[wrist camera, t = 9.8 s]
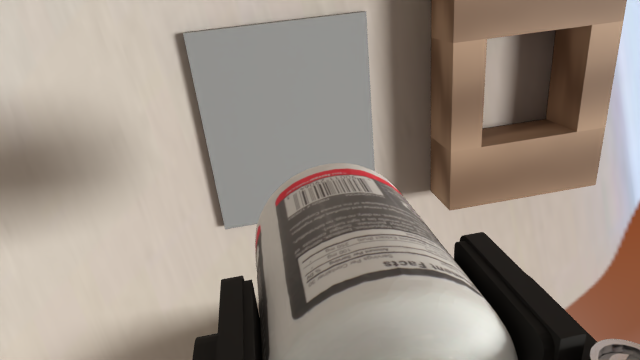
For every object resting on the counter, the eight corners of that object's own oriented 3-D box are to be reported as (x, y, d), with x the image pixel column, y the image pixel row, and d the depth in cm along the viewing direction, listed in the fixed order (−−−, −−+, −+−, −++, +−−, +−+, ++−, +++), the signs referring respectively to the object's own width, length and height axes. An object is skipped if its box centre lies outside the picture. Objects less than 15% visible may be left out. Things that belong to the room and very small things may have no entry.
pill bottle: (362, 311, 17) (494, 663, 8) (229, 270, 15) (210, 653, 6) (435, 192, 15) (695, 464, 7) (295, 132, 14) (390, 387, 5)
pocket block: (431, -36, 25) (455, -39, 22) (594, -53, 26) (636, -58, 23) (430, 190, 30) (449, 210, 28) (564, 168, 32) (595, 184, 29)
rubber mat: (184, 32, 24) (182, 33, 23) (363, 11, 25) (366, 11, 25) (225, 225, 29) (225, 229, 28) (374, 200, 30) (376, 203, 30)
